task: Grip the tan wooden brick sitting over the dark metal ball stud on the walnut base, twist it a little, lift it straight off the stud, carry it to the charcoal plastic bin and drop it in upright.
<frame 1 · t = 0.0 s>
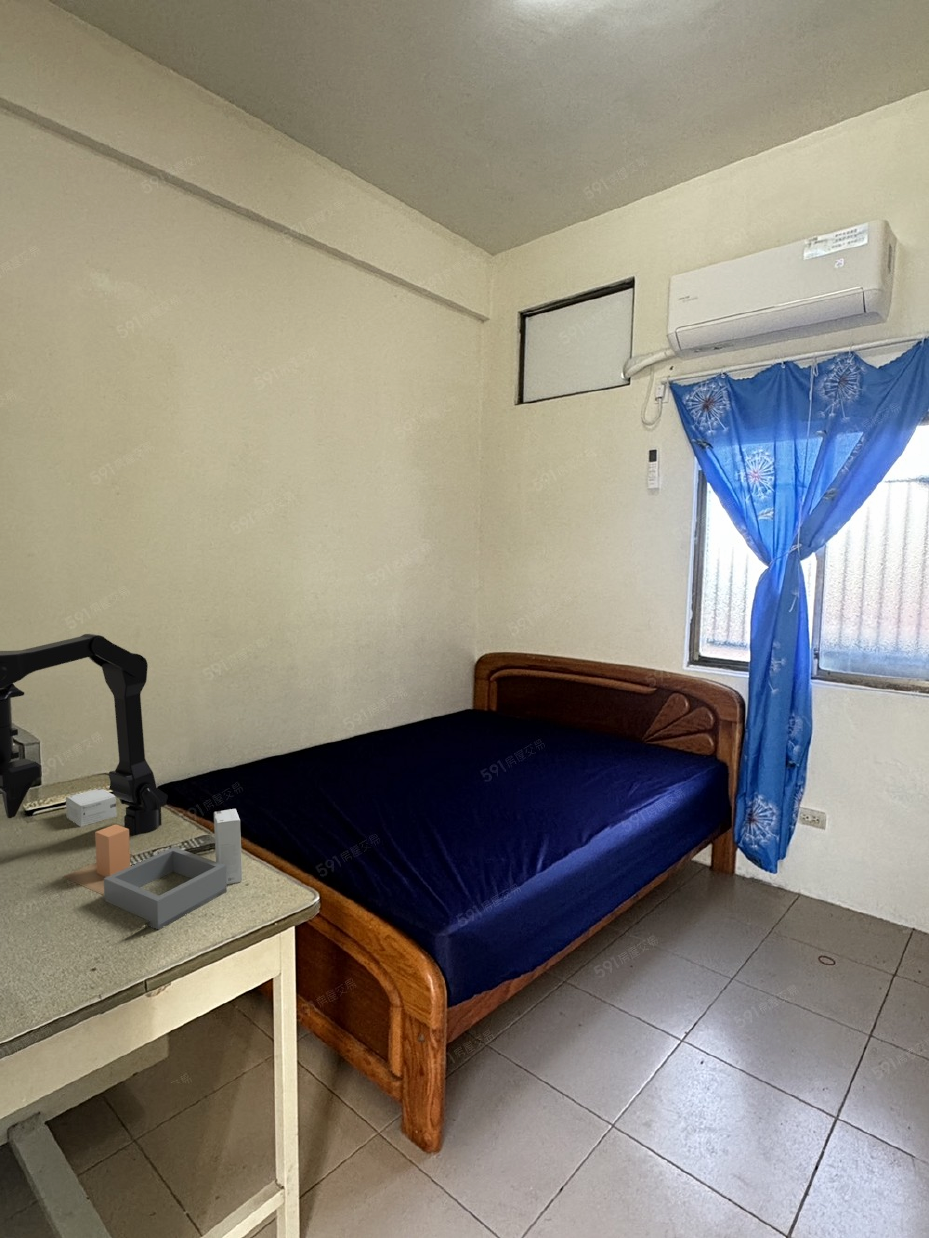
bin: (167, 898, 117), on the table
small box: (91, 818, 150), on the table
stud base: (113, 876, 124), on the table
tan wooden brick: (113, 871, 124), point 1 cm above the table, touching stud base
skincare box: (228, 877, 125), on the table
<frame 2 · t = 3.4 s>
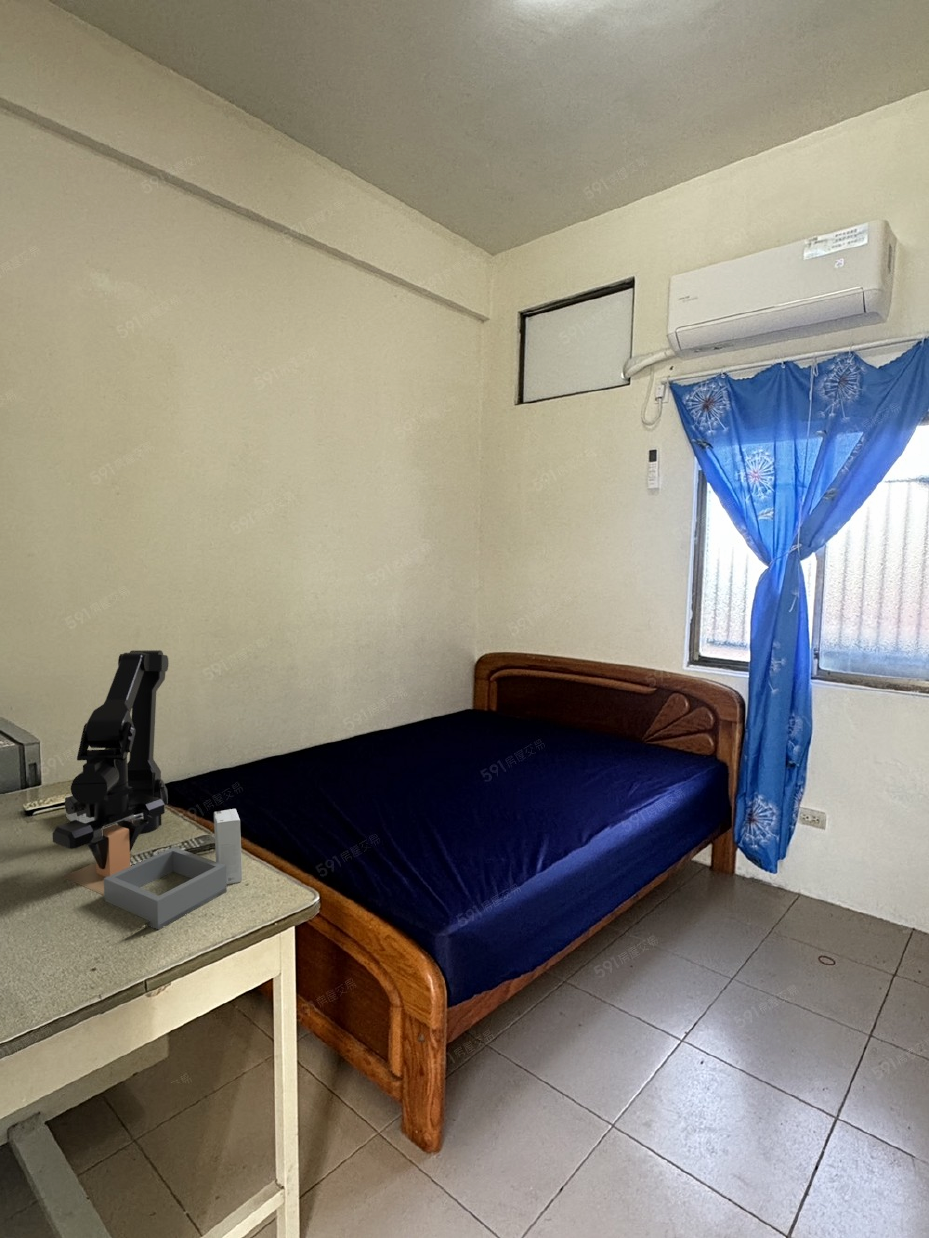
hand: (113, 863, 124), 3 cm above the table, tool pointing down, fingers closed on tan wooden brick, 4 cm apart
tan wooden brick: (113, 871, 124), point 1 cm above the table, touching gripper, stud base
everything else where it was.
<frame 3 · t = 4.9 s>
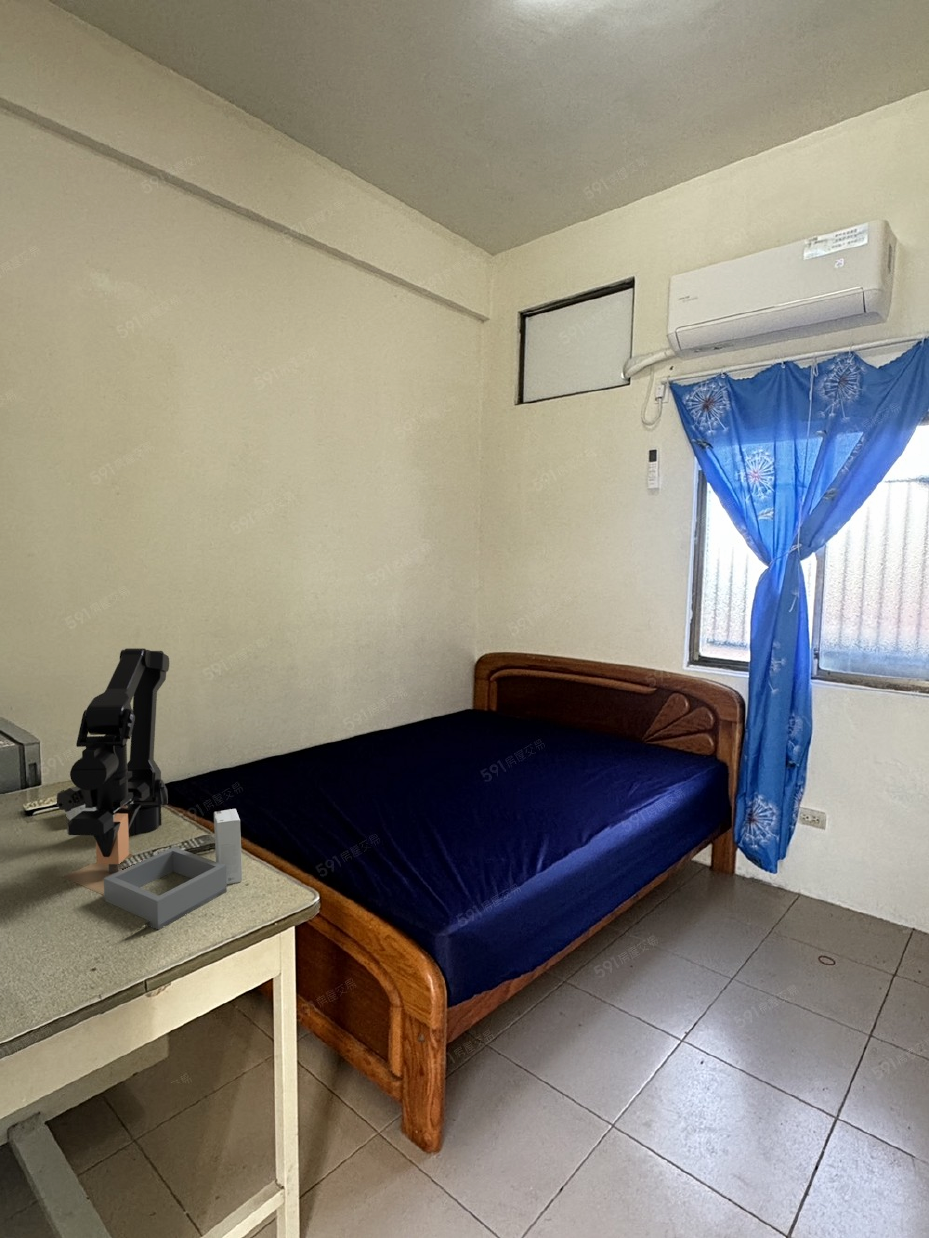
hand: (112, 851, 123), 5 cm above the table, tool pointing down, fingers closed on tan wooden brick, 4 cm apart
tan wooden brick: (113, 858, 123), point 3 cm above the table, touching gripper
everything else where it was.
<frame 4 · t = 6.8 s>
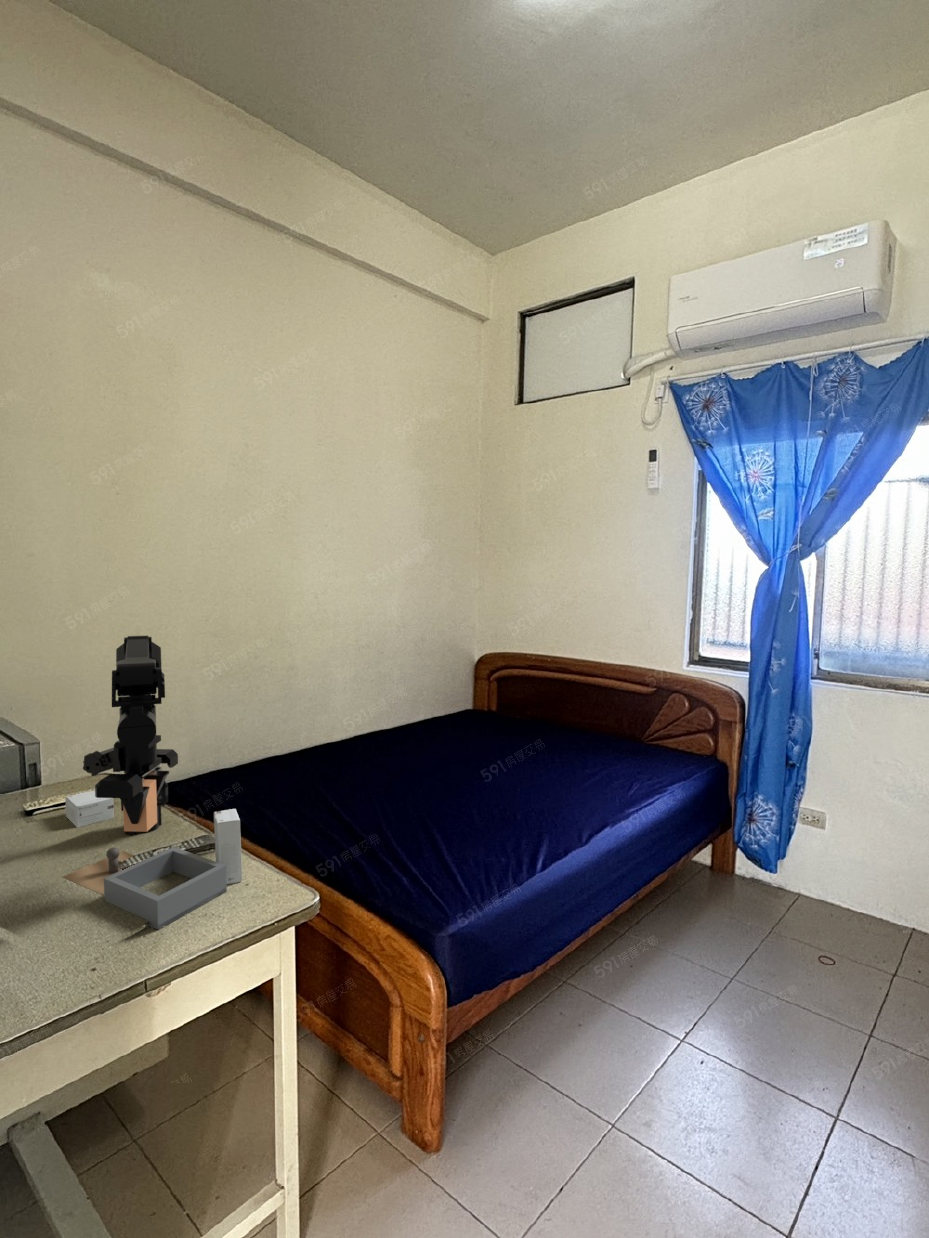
hand: (140, 818, 118), 13 cm above the table, tool pointing down, fingers closed on tan wooden brick, 4 cm apart
tan wooden brick: (140, 826, 118), point 12 cm above the table, touching gripper
everything else where it was.
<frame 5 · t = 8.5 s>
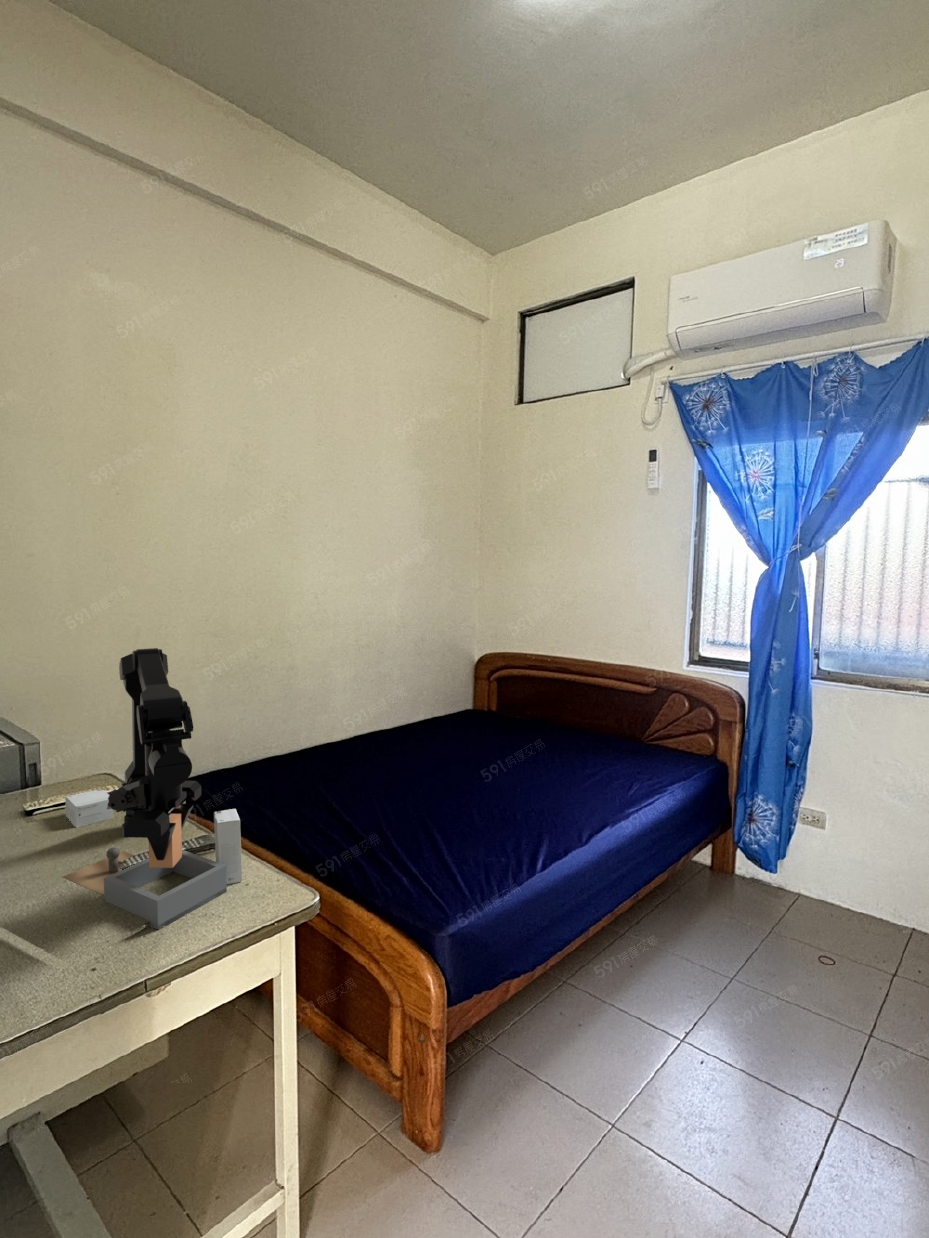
hand: (165, 853, 116), 8 cm above the table, tool pointing down, fingers closed on tan wooden brick, 4 cm apart
tan wooden brick: (165, 861, 116), point 7 cm above the table, touching gripper
everything else where it was.
when the fingers open (4 cm above the table, at t = 10.2 s): tan wooden brick drops 2 cm, resting on bin.
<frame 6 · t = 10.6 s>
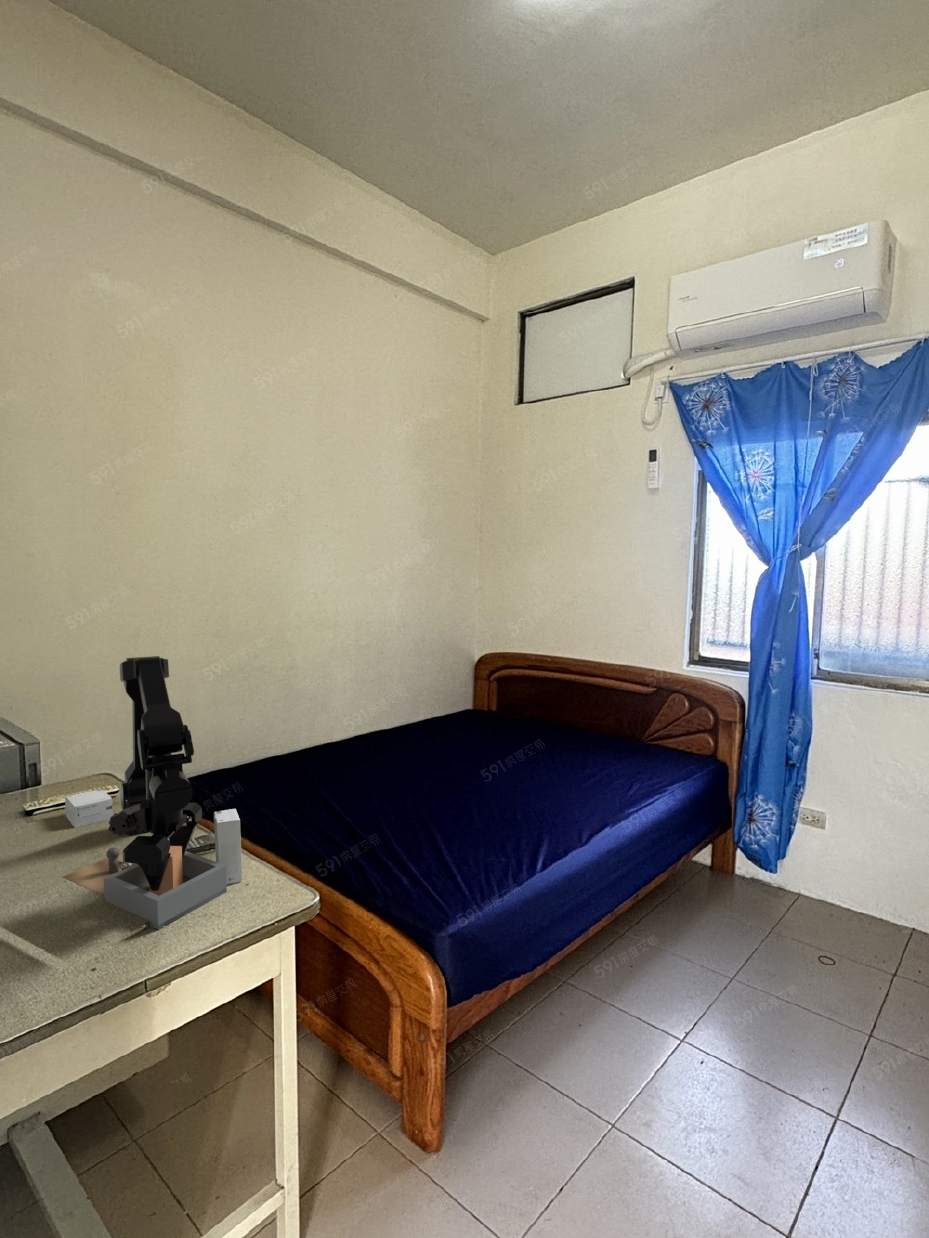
hand: (166, 877, 116), 4 cm above the table, tool pointing down, fingers open, 9 cm apart
tan wooden brick: (166, 894, 117), point 1 cm above the table, touching bin
everything else where it was.
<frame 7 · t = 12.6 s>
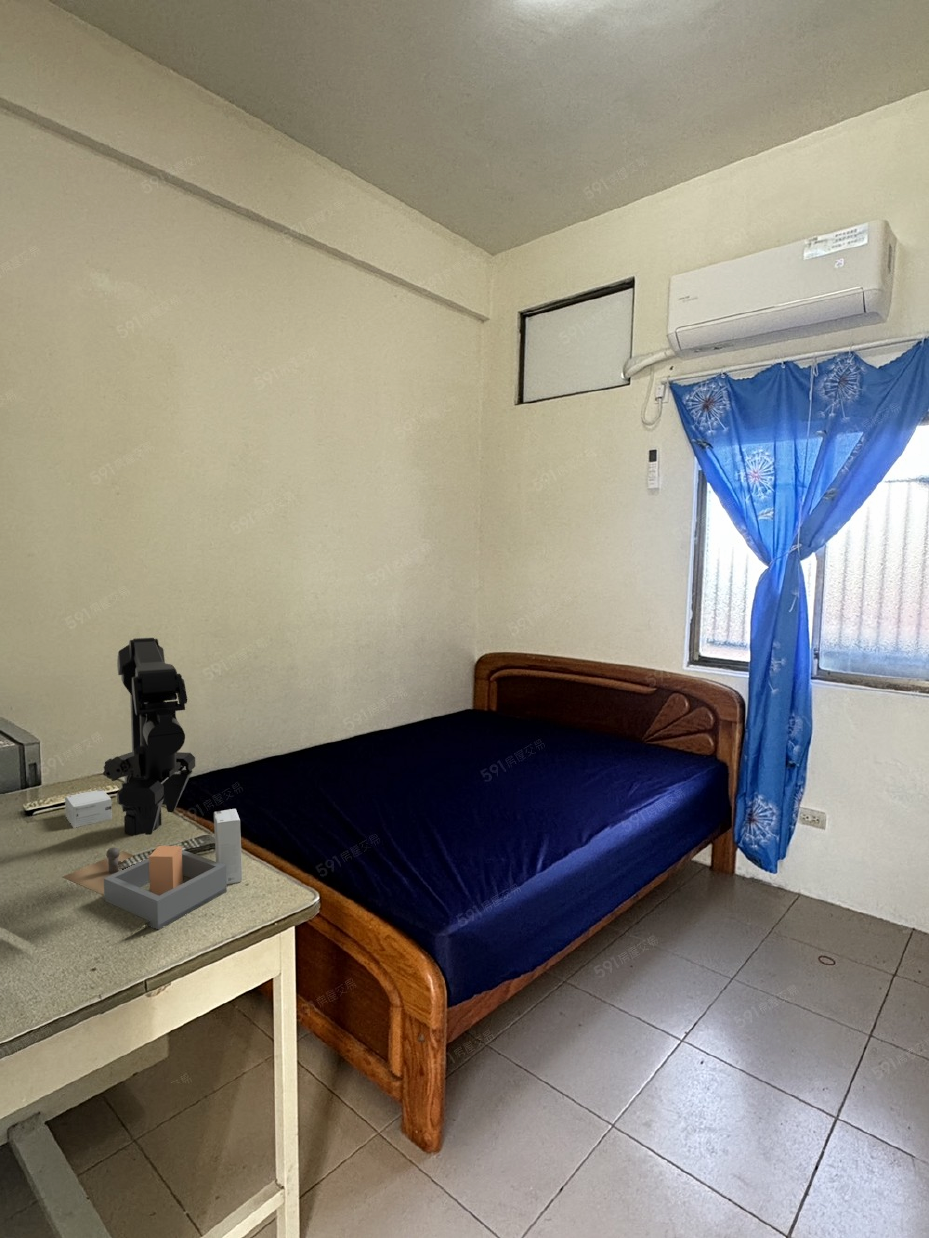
hand: (160, 822, 119), 12 cm above the table, tool pointing down, fingers open, 9 cm apart
nothing on the table moved.
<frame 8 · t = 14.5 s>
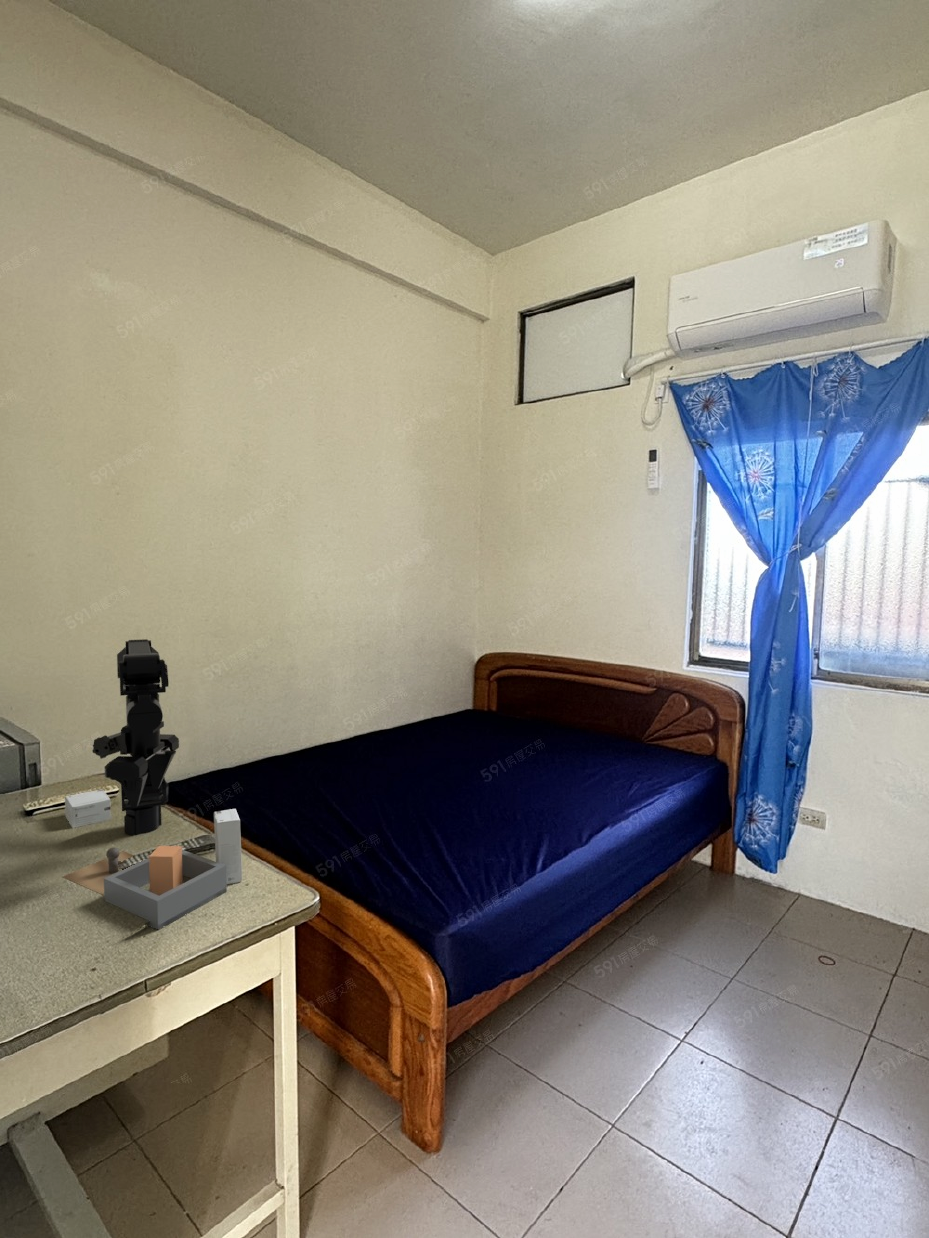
hand: (145, 797, 129), 13 cm above the table, tool pointing down, fingers open, 9 cm apart
nothing on the table moved.
at the end: tan wooden brick inside the target area on the bin (0.0 cm from its centre), point 0.8 cm above the bin's base; tan wooden brick tilted 0°; the gripper is holding nothing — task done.
